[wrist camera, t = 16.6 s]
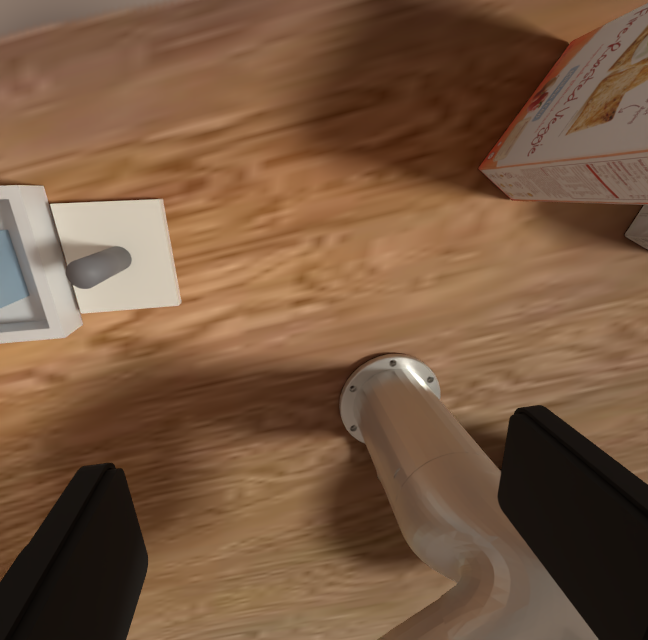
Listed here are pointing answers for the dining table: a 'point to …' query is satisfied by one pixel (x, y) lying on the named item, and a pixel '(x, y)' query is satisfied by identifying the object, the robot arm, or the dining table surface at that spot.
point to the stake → (118, 254)
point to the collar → (10, 273)
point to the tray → (36, 269)
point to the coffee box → (639, 228)
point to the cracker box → (583, 124)
